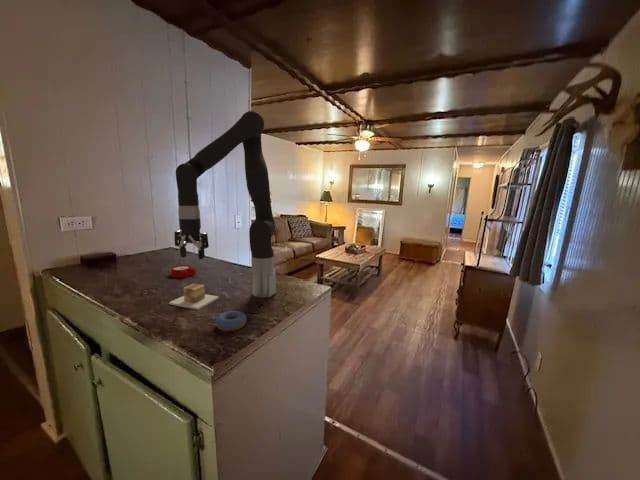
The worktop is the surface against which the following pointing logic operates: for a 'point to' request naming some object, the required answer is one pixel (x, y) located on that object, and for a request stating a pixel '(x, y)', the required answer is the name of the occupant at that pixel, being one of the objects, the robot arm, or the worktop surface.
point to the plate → (192, 305)
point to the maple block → (194, 293)
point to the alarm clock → (182, 271)
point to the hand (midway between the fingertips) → (192, 257)
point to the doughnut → (231, 321)
